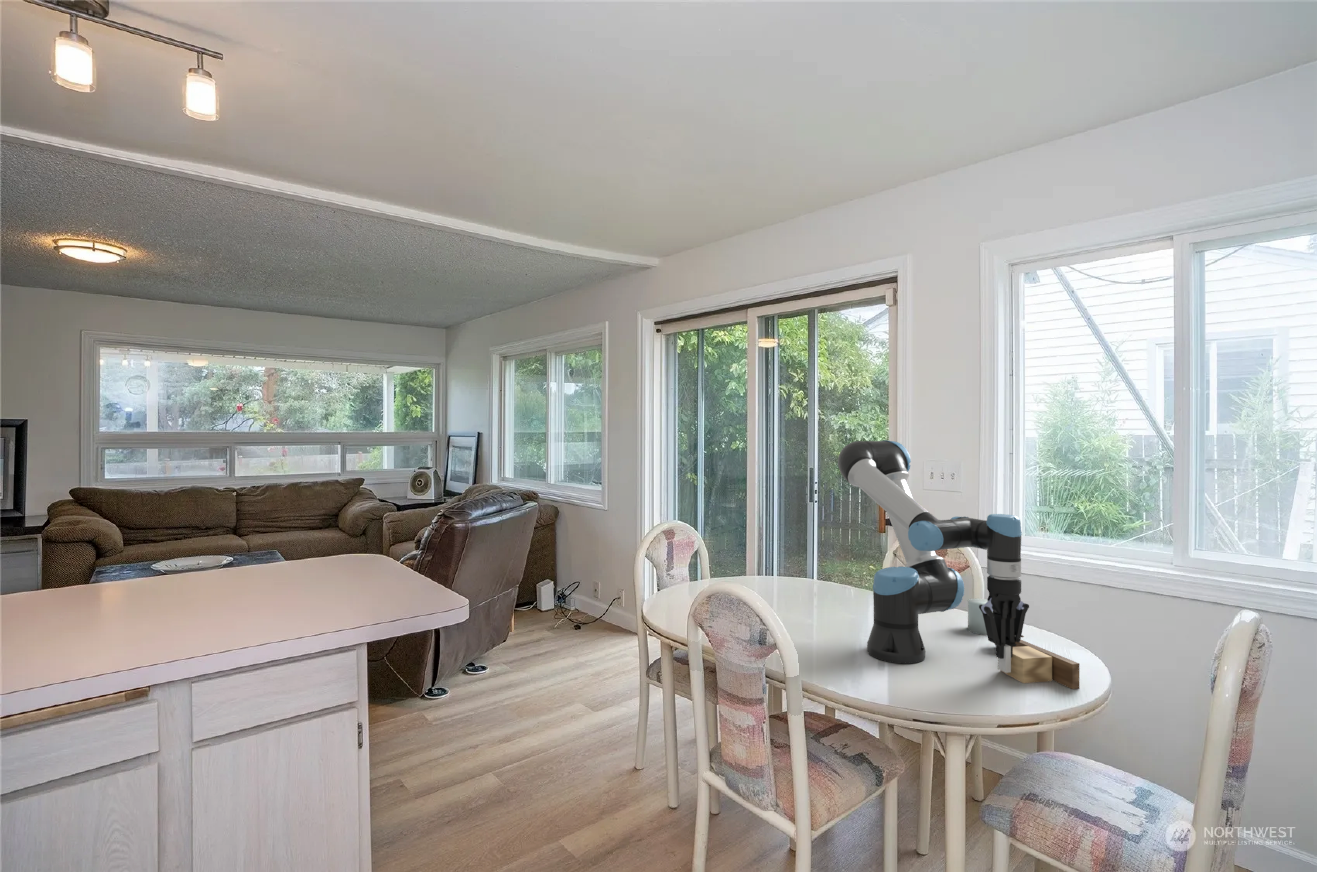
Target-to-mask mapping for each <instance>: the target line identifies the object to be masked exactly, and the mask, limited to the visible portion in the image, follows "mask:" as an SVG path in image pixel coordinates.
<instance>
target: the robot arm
mask: <svg viewBox="0 0 1317 872" xmlns="http://www.w3.org/2000/svg"><path fill="white" fill-rule="evenodd" d="M908 451H909V450H908V449H907V448H906V447H905V446H904V445H903V444H902V443H901V442H897V441H893V440H888V439H883V440H864V441H863V440H858V441H857V440H856V441H855V440H854V441H852V442H850V443H847V445H845V446H844V447H843V448H842V449H841V450H840V453H839V454H838V458H837V467H838V470H839V472H840V475H842V477H843V478H844V479H845V480H846V482H848V483H849V484H850V485H851V486H853V487H857V488H859V489H861V490H862V491H863V492H864V493H865V494H866V495H867V496H868V497H870V499H872V500H873V501H874V503H876V504H877V505H878V506H880V508H882V509H883V510H884V511H885V512H886V514H887V515H888V518H889V520H890V523H891V526H892V529H893V531H894V534H895V537H896V539H897V541H898V545H899V546H900V550H901V553H902V555H903V557H904V561H905V562H906V565H905V566H889V567H885V568H884V567H883V568H881V569H879V570H877V571H876V572H875V573H874V576H873V585H872V591H873V624H872V628H871V630H870V633H869V636H868V640H867V642H866V652H867V654H868V655H869V656H870V657H873V658H875V659H878V660H881V661H883V662H884V661H885V662H888V663H895V664H916V663H921V662H923V661H924V660H925V659H926V647H925V643H924V641H923V639H922V636H921V633H920V630H919V615H923V614H931V613H937V612H940V613H942V612H946V611H949V610H952V609H956V608H957V607H958V606H960V604H961V603H962V601H963V597H964V595H965V583H964V581H963V577H962V576H961V574H960V573H959V572H958V571H956V570H955V569H954V568H952V567H948V565H947V563H946V560H945V558H944V557H941V556H940V555H938V554H936V551H941V550H943V551H944V550H948V549H949V550H950V549H962V548H963V549H964V548H975V549H981V550H985V551H986V574H987V575H988V576H986V586H987V587H986V589H987V591H988V598H987V600H988V602H987V603H986V604H984V605H982V604H981V605H979V609H980V610H981V612H982V614H983V618H984V623H985V627H986V632H987V635H986V637H987V640H988V642H990V643H993V644H994V643H995V644H996V645H995V644H994V645H995V656H996V658H997V669H998V670H999V671H1000V672H1002V671H1003V672H1005V673H1009V672H1011V658H1012V656H1013V646H1014V647H1015V646H1016V645H1017V644H1015V643H1016V642H1020V639H1021V640H1022V637H1021V635H1023V634H1022V633H1023V628H1024V623H1025V619H1026V614H1027V612H1028V611H1029V608H1030V605H1029V604H1028V603H1025V602H1024V601H1022V599H1021V596H1020V594H1022V579H1021V577H1022V557H1021V552H1022V536H1023V533H1022V526H1021V519H1020V518H1019V517H1018V516H1017V515H1013V514H1004V513H991V514H988V515H987V517H986V520H985V519H979V518H972V517H969V516H953V517H951V518H950V519H938V518H937V517H936V516H935V515H934V514H932V513H931V512H930V511H928V509H926V508H925V507H924V506H922V504H920V503H919V502H918V501H916V500H915V499H914V498H913V495H912V492H911V490H910V488H909V485H908V483H907V480H908V478H909V477H910V475H909V471H910V470H911V464H910V463H911V462H912V461H911V455H910V453H909V452H908ZM992 612H993V613H992ZM1015 635H1016V636H1015ZM1003 672H1002V673H1003ZM1005 673H1004V674H1005Z"/></svg>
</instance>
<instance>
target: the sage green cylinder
mask: <svg viewBox="0 0 1317 872" xmlns="http://www.w3.org/2000/svg"><path fill="white" fill-rule="evenodd" d="M987 599H988V598H987ZM987 599H986V598H978V597H977V598H969V599H968V600H967V631H969V632H971V633H973V634H976V635H977V634H978V635H984V636H987V632H986V627H985V623H984V618H983V614H982V612H981V610H980V609H979V605H981V604H982V605H984V604H986V603H987V602H988V600H987ZM992 613H993V612H992Z"/></svg>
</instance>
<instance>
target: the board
mask: <svg viewBox="0 0 1317 872" xmlns="http://www.w3.org/2000/svg"><path fill="white" fill-rule="evenodd" d="M1015 644H1017V645H1016V646H1015V647H1022V646H1029V647H1032V648H1034V649H1036V650H1038V651H1040V652H1042V653H1045V654H1047V655H1049V656H1051V657H1052V681H1053V682H1056V683H1058V684H1061V685H1063V686H1065V687H1067V688H1069V689H1071V690H1078V689H1080V663H1079V662H1076V661H1074V660H1072V659H1069V658H1067V657H1065V656H1062V655H1060V654H1056V653H1055V652H1053V651H1049V650H1047V649H1046V648H1043V647H1040V646H1038V645H1035V644H1033V643H1030V642H1027V641H1025V640H1024V639H1023V640H1022V638H1021V639H1020V642H1016V643H1015ZM1013 647H1014V646H1013Z"/></svg>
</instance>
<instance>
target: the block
mask: <svg viewBox="0 0 1317 872" xmlns="http://www.w3.org/2000/svg"><path fill="white" fill-rule="evenodd" d="M1001 672H1002V673H1004V674H1005V675H1007V676H1008V677H1011V678H1012V679H1015V680H1016V681H1018V682H1020V683H1021V684H1030V683H1044V682H1053V680H1052V657H1051V656H1049V655H1047V654H1045V653H1042V652H1040V651H1038V650H1036V649H1034V648H1032V647H1029V646H1022V647H1013V656H1012V658H1011V672H1009V673H1005V672H1003V671H1001Z"/></svg>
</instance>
